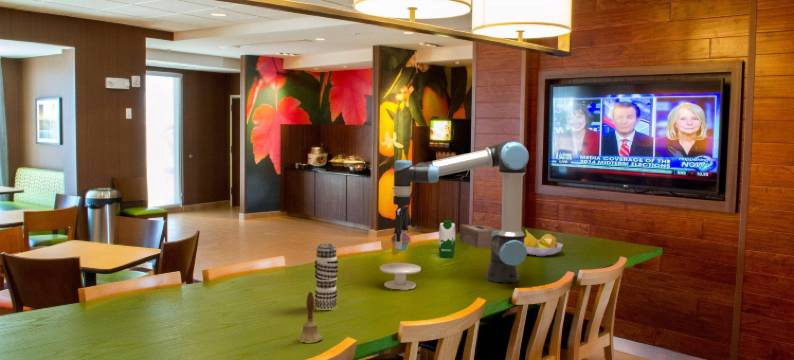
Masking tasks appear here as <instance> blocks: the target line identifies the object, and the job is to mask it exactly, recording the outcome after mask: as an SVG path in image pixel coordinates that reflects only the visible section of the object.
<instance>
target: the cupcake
mask: <svg viewBox="0 0 794 360" xmlns="http://www.w3.org/2000/svg"><path fill="white" fill-rule="evenodd" d="M395 239H396V234H393V235H392V236H391V240H390V241H391V242H392V243H393V246H394V250H395V251H399V252H401V251H402V252H403V251H407V247H408V245H409V244H410V243H411V242H412V241H411V237H410V236H409V235H408V234H407V233H406V234H402V249H395Z"/></svg>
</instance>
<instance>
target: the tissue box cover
mask: <svg viewBox="0 0 794 360" xmlns="http://www.w3.org/2000/svg"><path fill="white" fill-rule="evenodd" d="M493 231H501V229H496V228H493V227H491V226H488V225H486V224H483V223H472V224H471V223H470V224H469V223H467V224H459V241H461V242H463V243H465V244H467V245H468V246H472V247H473V248H474V247H475V248H477V249H486V248H488V249H489V248H490V249H491V236H492V232H493Z"/></svg>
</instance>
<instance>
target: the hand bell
mask: <svg viewBox="0 0 794 360" xmlns="http://www.w3.org/2000/svg"><path fill="white" fill-rule="evenodd" d="M306 308H307V321H306V322H304V324H303V327H302V332H301V334H300V335H299V336H300V337H299V336H298V338H300V339H301V340H304V341H316V340H319V339H321V338H323V336H322V335H321V334H320V333H319V329H318V324H317V323H316V322H315V321H314V316H313V313H314V309H315V297H314V294H313V292H312V291H309V292H308V294H307V297H306Z"/></svg>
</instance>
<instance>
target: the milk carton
mask: <svg viewBox="0 0 794 360" xmlns="http://www.w3.org/2000/svg"><path fill="white" fill-rule="evenodd" d="M438 230H439V231H438V253H439V258H440V259H442V258H443V259H453V258H454V254H455V248H456V224H455V222H452V220H447V219H446V220H443V222H440V223H439V229H438Z"/></svg>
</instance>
